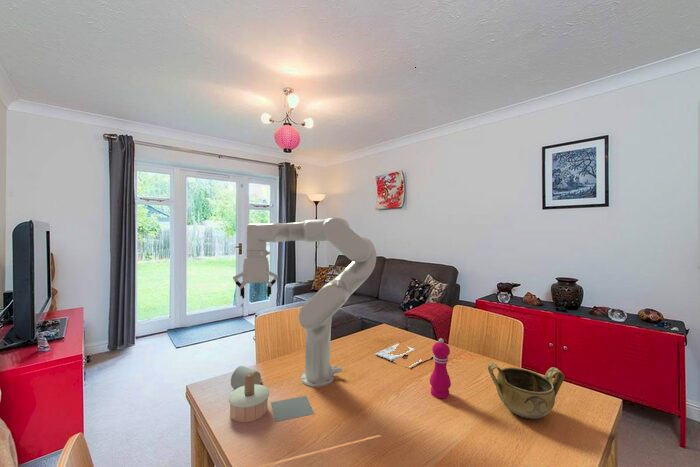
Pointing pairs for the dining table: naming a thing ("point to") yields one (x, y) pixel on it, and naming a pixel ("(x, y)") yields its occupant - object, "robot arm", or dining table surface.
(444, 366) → the pepper mill
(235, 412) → the round wooden tub
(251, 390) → the lid
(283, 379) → the dining table surface
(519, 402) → the ceramic bowl
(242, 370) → the ceramic mug
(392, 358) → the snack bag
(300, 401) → the placemat
